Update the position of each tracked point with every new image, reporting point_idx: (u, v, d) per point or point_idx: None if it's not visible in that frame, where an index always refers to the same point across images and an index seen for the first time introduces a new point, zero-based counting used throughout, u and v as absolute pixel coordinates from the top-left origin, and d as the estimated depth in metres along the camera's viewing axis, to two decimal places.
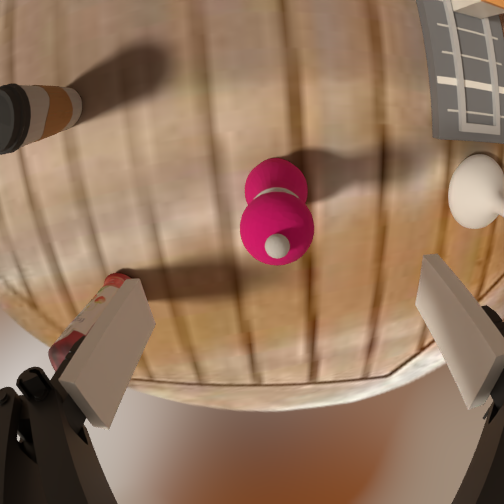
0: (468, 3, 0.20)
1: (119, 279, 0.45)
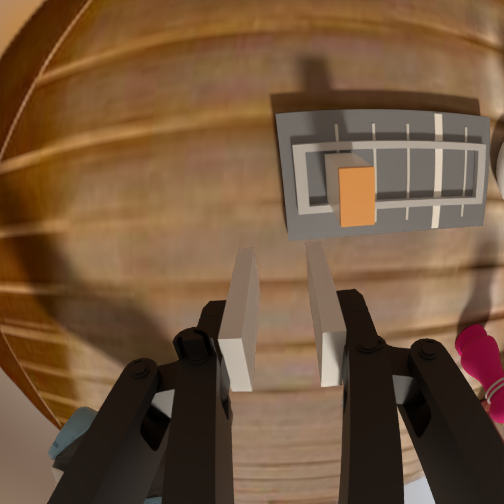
0: None
1: None
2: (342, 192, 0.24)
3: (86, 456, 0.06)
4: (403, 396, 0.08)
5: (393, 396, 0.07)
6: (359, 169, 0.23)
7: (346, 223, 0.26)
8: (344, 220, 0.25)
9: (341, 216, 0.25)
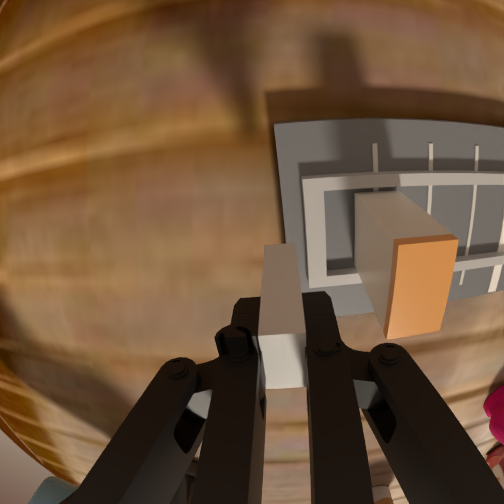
0: None
1: (492, 458, 0.39)
2: (398, 286, 0.12)
3: (114, 457, 0.06)
4: (364, 401, 0.08)
5: (354, 398, 0.07)
6: (433, 244, 0.11)
7: (396, 333, 0.13)
8: (393, 329, 0.13)
9: (389, 323, 0.13)
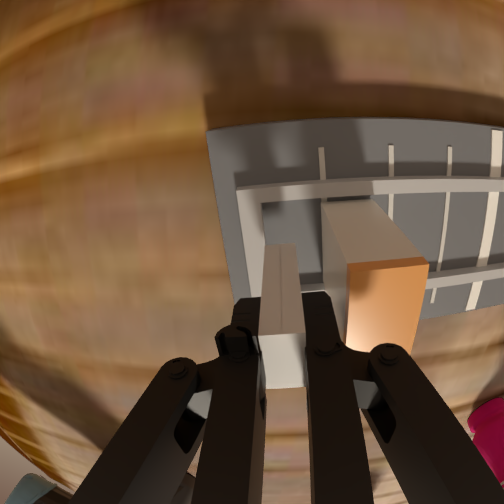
0: None
1: None
2: (353, 317, 0.11)
3: (114, 457, 0.06)
4: (364, 400, 0.08)
5: (354, 398, 0.07)
6: (396, 271, 0.10)
7: None
8: None
9: None
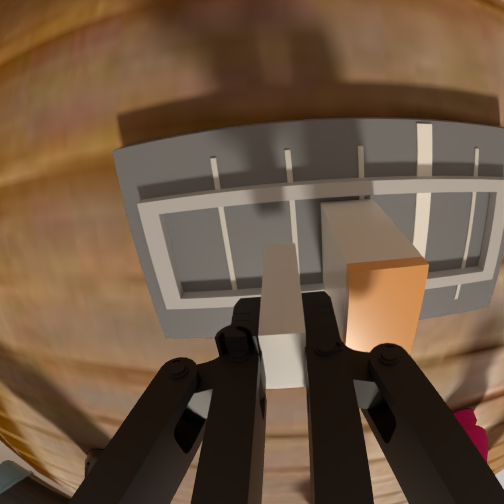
0: None
1: None
2: (352, 317, 0.11)
3: (114, 457, 0.06)
4: (364, 401, 0.08)
5: (354, 398, 0.07)
6: (396, 271, 0.10)
7: None
8: None
9: None
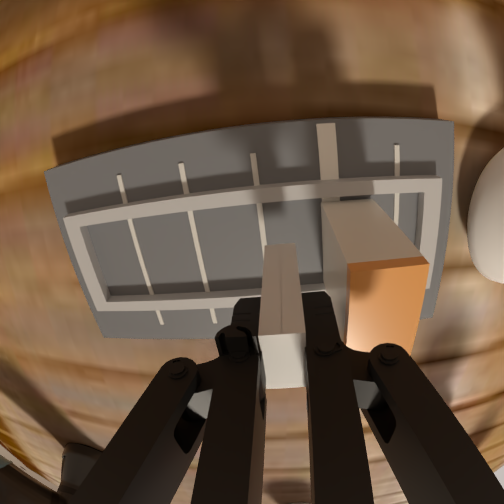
0: None
1: None
2: (353, 317, 0.11)
3: (114, 457, 0.06)
4: (364, 400, 0.08)
5: (354, 398, 0.07)
6: (396, 270, 0.10)
7: None
8: None
9: None
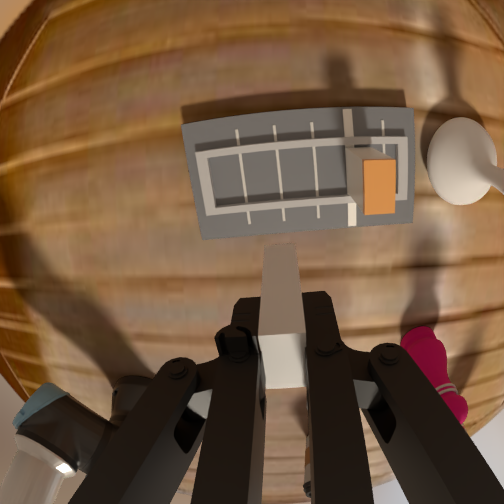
0: None
1: None
2: (366, 182, 0.26)
3: (114, 457, 0.06)
4: (364, 401, 0.08)
5: (354, 398, 0.07)
6: (382, 161, 0.25)
7: (369, 211, 0.27)
8: (367, 208, 0.27)
9: (365, 204, 0.27)
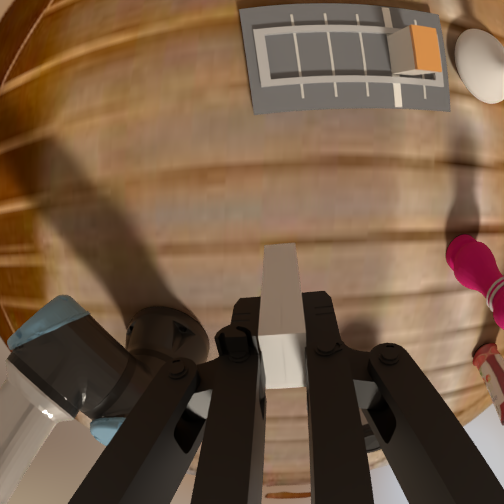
0: (425, 73, 0.27)
1: (478, 357, 0.50)
2: (415, 41, 0.22)
3: (114, 457, 0.06)
4: (364, 400, 0.08)
5: (354, 398, 0.07)
6: (425, 27, 0.21)
7: (421, 66, 0.24)
8: (419, 63, 0.23)
9: (417, 60, 0.23)
